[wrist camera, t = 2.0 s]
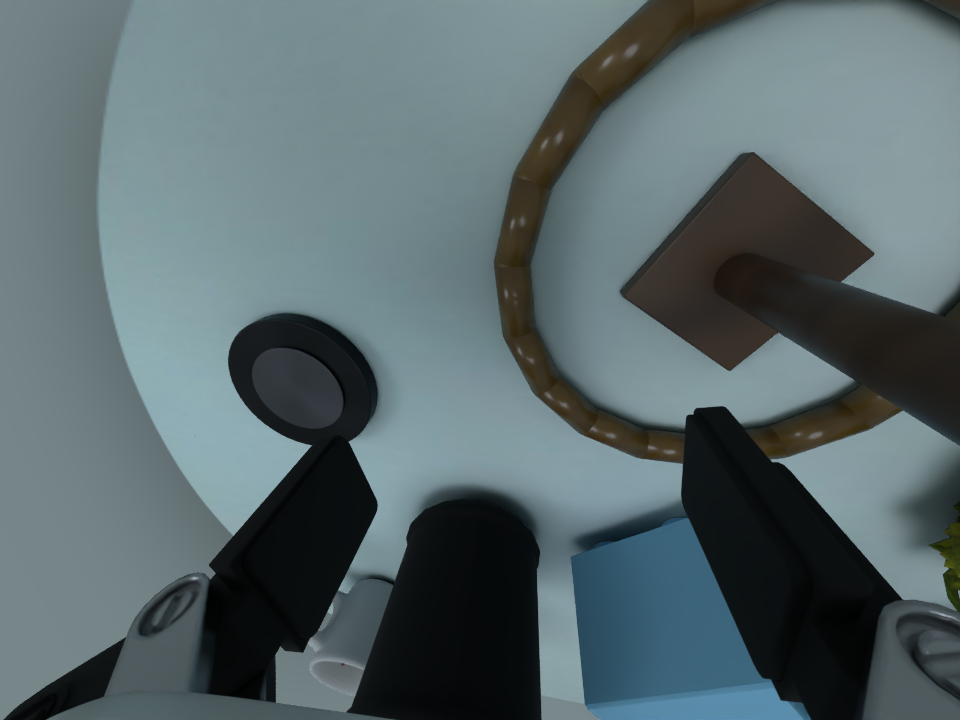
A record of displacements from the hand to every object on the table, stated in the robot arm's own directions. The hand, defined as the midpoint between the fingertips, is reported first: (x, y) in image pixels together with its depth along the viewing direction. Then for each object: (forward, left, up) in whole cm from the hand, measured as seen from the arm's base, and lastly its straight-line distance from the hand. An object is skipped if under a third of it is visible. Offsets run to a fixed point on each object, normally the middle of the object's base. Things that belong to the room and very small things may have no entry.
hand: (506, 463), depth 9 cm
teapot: (+26, -13, -13) cm, 32 cm away
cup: (+5, -37, -13) cm, 40 cm away
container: (+9, -20, -13) cm, 26 cm away
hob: (-10, -14, -13) cm, 22 cm away
